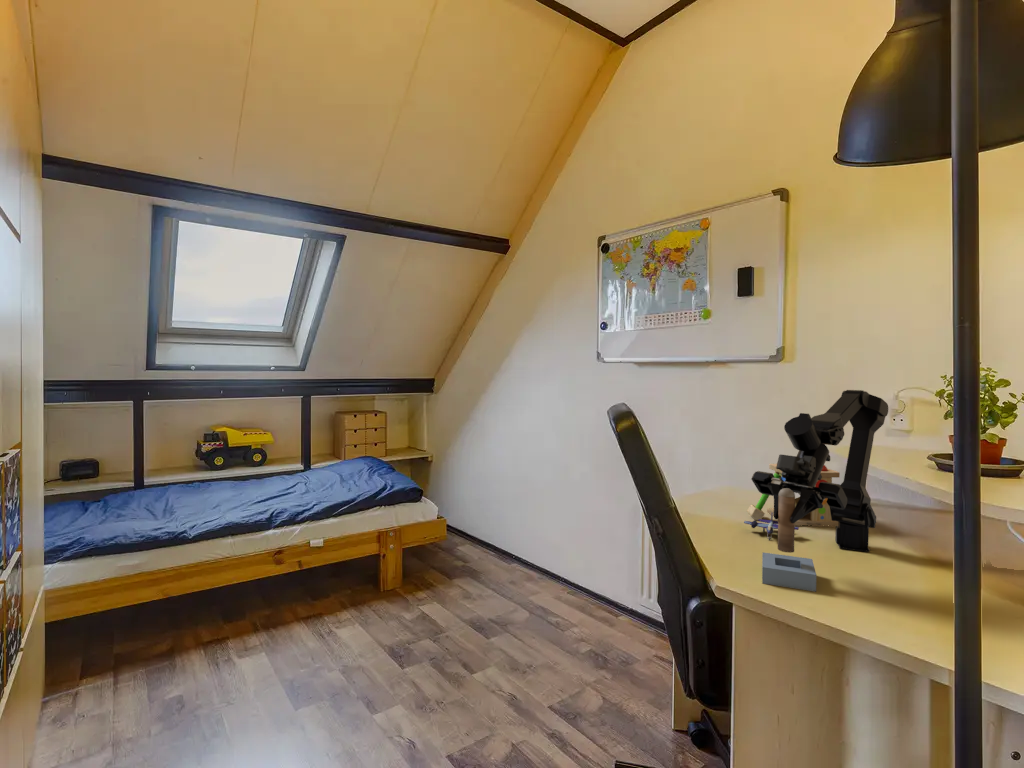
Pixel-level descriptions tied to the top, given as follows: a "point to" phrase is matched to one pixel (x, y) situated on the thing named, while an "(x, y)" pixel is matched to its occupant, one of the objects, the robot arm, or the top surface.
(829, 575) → the top surface
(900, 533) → the top surface
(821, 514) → the pounding bench toy
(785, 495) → the walnut peg
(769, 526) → the toy airplane
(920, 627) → the top surface
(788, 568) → the slotted blue base
